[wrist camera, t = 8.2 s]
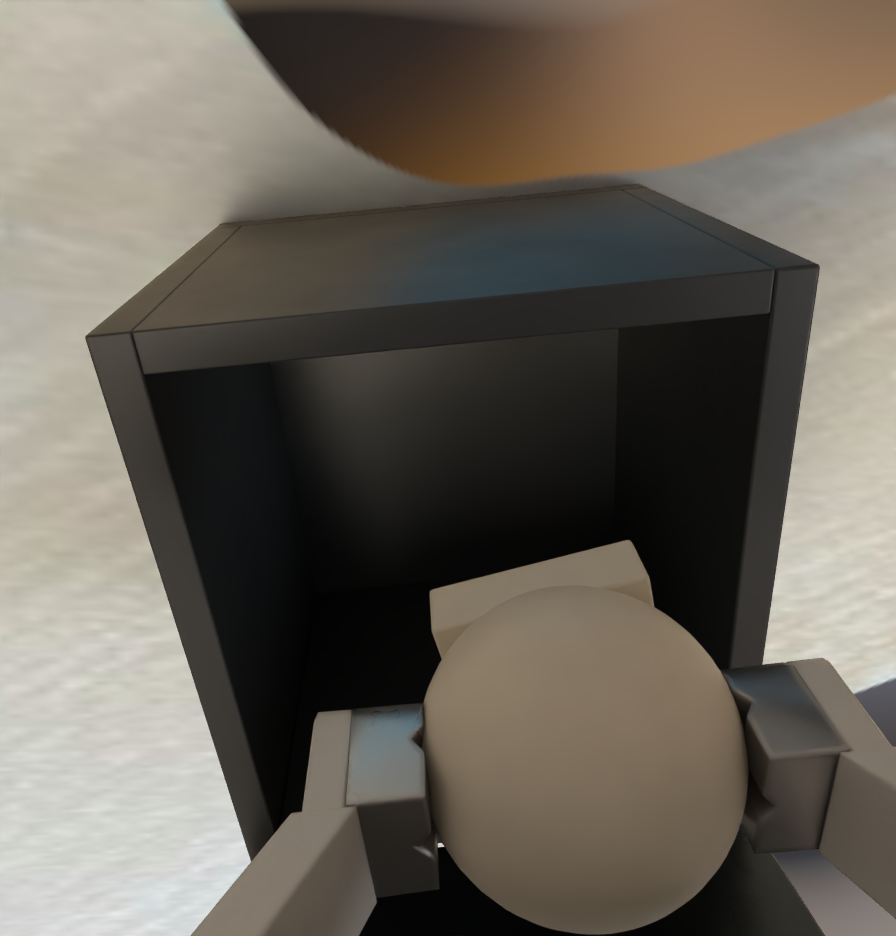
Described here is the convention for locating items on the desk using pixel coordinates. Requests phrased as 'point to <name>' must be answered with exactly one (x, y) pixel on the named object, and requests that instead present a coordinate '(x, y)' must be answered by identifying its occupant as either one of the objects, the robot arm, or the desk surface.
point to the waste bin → (446, 438)
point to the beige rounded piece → (579, 744)
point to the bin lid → (681, 932)
